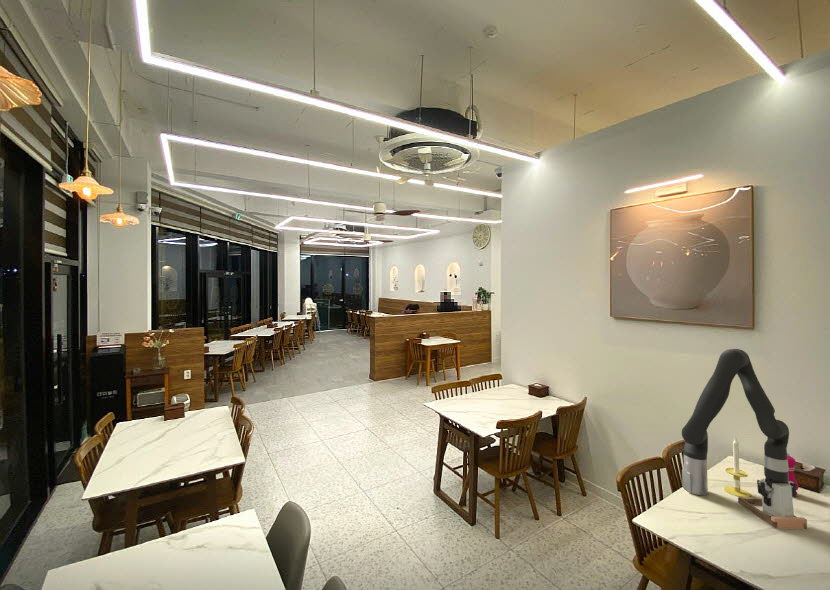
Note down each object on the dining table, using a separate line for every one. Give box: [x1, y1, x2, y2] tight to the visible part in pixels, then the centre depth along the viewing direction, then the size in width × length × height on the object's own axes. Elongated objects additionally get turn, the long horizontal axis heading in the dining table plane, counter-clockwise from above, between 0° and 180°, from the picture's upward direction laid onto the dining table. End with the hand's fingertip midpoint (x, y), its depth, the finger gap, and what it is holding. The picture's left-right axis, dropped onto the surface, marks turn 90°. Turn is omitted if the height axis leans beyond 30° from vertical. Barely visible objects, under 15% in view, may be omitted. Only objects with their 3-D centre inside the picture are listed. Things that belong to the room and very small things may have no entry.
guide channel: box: [737, 496, 808, 530], centre depth 160 cm, size 12×19×2 cm, turn 175°
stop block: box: [770, 516, 808, 530], centre depth 151 cm, size 12×2×4 cm, turn 85°
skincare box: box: [759, 477, 795, 517], centre depth 156 cm, size 8×6×15 cm
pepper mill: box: [787, 452, 799, 498], centre depth 176 cm, size 7×7×20 cm
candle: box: [723, 437, 752, 498], centre depth 179 cm, size 10×10×27 cm
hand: (777, 505), depth 156 cm, fingers closed on skincare box, 7 cm apart
